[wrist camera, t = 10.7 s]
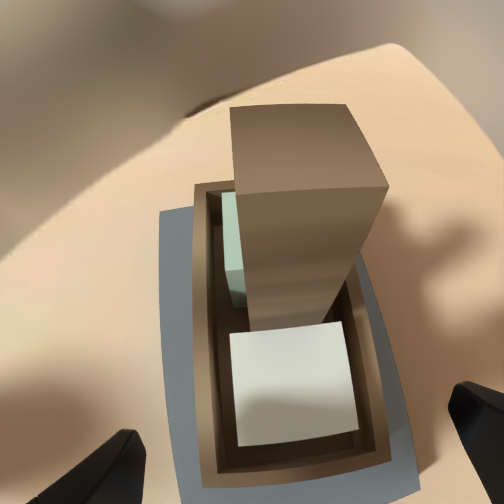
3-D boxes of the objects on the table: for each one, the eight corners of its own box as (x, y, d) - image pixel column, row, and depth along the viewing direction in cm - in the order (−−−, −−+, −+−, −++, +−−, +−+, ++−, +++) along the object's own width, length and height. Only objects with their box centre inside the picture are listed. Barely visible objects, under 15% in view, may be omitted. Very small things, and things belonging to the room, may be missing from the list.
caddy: (360, 453, 12) (557, 473, 2) (217, 471, 12) (96, 582, 2) (317, 219, 19) (351, 33, 9) (205, 228, 19) (163, 40, 9)
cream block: (332, 427, 12) (358, 429, 9) (244, 438, 12) (238, 446, 8) (321, 347, 14) (341, 321, 11) (237, 356, 14) (229, 333, 11)
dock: (329, 205, 22) (334, 187, 21) (405, 484, 12) (420, 489, 10) (166, 228, 22) (159, 211, 20) (197, 528, 11) (189, 539, 10)
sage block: (312, 300, 15) (327, 261, 12) (233, 308, 15) (225, 270, 12) (300, 234, 17) (308, 186, 14) (229, 241, 17) (221, 192, 14)
